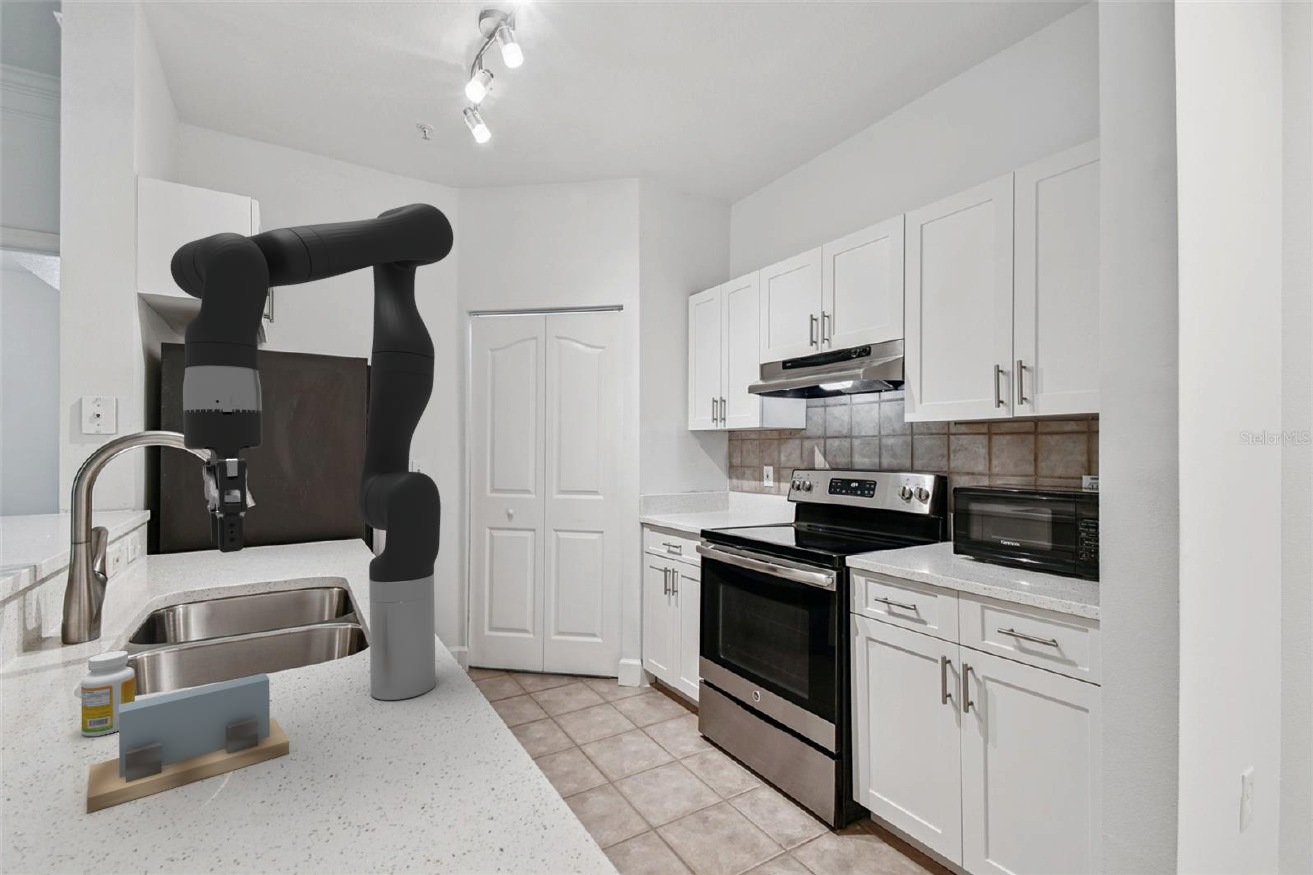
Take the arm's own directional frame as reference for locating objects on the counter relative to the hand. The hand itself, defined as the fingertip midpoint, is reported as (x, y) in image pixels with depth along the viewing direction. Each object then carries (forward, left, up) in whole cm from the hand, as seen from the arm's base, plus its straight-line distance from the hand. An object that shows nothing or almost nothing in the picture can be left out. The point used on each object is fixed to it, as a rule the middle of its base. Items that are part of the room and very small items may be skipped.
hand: (226, 547), depth 72 cm
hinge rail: (-1, -5, -26) cm, 26 cm away
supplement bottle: (-12, -24, -26) cm, 37 cm away
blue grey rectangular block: (-1, -4, -24) cm, 24 cm away
